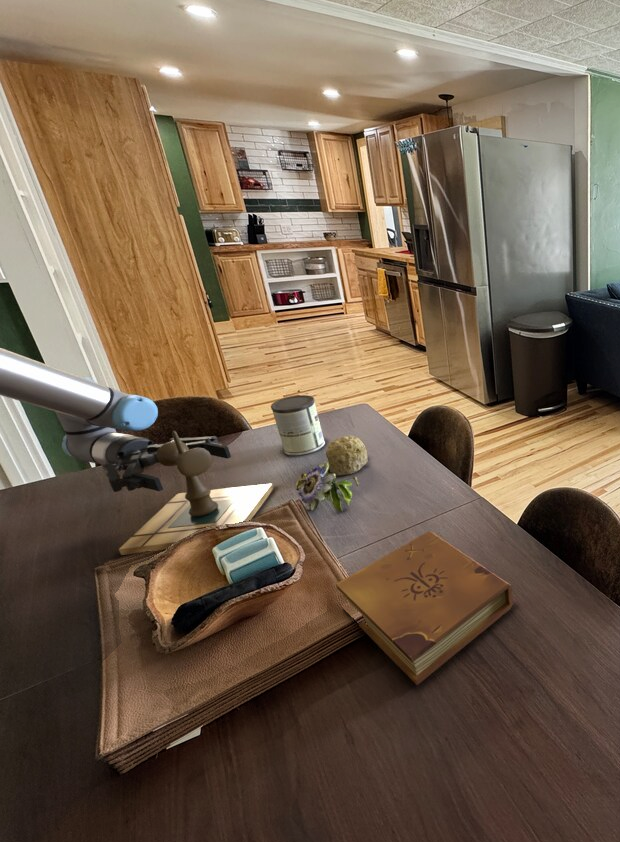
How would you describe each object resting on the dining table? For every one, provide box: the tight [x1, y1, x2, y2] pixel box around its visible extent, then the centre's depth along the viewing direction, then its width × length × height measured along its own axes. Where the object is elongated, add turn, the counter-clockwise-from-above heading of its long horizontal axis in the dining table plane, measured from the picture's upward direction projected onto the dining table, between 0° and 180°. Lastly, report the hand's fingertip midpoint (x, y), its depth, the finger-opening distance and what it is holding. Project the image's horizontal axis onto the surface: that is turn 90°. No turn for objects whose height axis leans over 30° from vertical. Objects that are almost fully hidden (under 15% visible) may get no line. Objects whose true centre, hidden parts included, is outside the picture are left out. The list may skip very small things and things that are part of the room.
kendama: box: [157, 430, 218, 517], centre depth 101 cm, size 6×10×20 cm, turn 64°
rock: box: [325, 435, 369, 476], centre depth 125 cm, size 10×11×10 cm
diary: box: [335, 530, 514, 686], centre depth 81 cm, size 23×19×6 cm
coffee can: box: [270, 394, 326, 456], centre depth 133 cm, size 10×10×14 cm
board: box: [118, 483, 275, 556], centre depth 104 cm, size 20×20×2 cm
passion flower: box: [295, 461, 360, 512], centre depth 109 cm, size 11×11×12 cm
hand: (195, 467), depth 99 cm, fingers open, 13 cm apart
